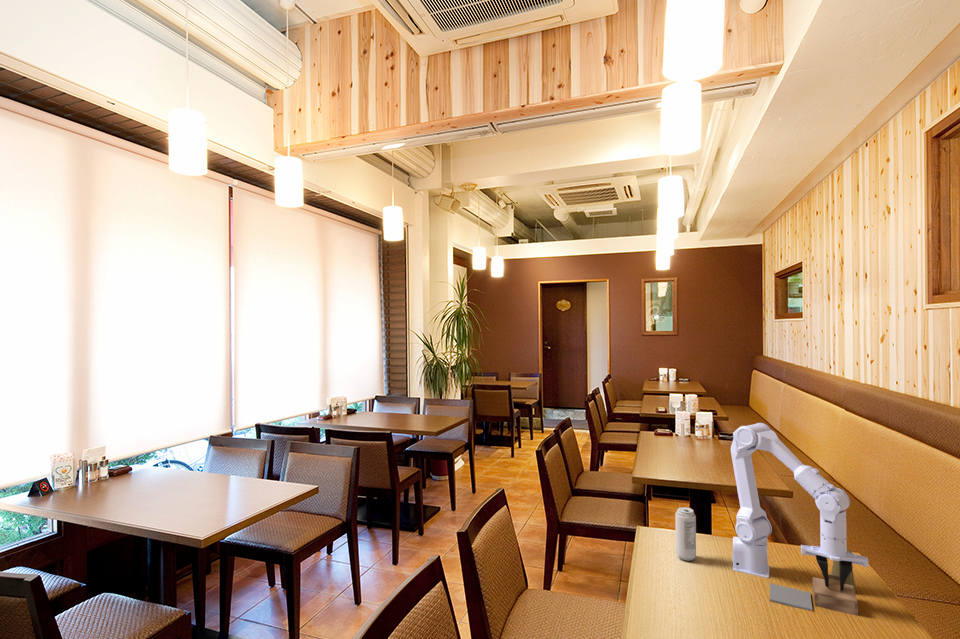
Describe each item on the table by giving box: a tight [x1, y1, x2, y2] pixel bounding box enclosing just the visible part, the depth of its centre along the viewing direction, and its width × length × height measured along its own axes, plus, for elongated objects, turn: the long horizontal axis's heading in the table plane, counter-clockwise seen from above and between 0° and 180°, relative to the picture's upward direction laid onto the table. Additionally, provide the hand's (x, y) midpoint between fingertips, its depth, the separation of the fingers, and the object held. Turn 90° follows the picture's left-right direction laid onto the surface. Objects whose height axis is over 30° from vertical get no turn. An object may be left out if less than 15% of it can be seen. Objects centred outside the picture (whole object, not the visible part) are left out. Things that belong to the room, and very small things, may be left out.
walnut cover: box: [812, 573, 859, 617], centre depth 131 cm, size 9×9×7 cm
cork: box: [830, 548, 857, 594], centre depth 138 cm, size 6×6×11 cm
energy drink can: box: [674, 506, 697, 562], centre depth 158 cm, size 6×6×15 cm
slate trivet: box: [769, 582, 813, 612], centre depth 134 cm, size 10×10×1 cm
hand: (833, 586), depth 131 cm, fingers closed on walnut cover, 2 cm apart
